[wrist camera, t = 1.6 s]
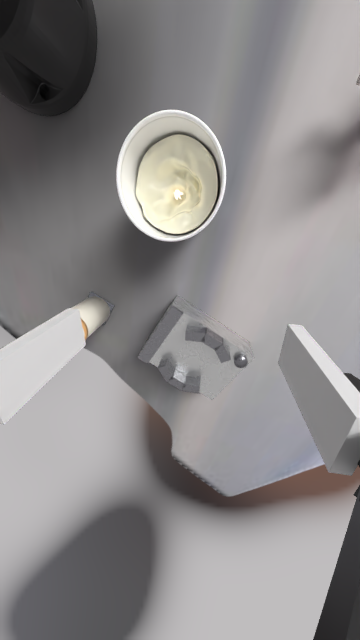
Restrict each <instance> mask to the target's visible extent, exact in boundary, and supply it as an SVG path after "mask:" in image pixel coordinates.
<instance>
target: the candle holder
mask: <svg viewBox="0 0 360 640" xmlns="http://www.w3.org/2000/svg"><path fill="white" fill-rule="evenodd" d="M116 182H117V190H118V195H119V198H120V201H121V204H122V206H123V209H124V211H125V213H126V214H127V216H128V217H129V219H130V220H131V222H132V223H133V224H134V225H135V226H136V227H137V228H138V229H139V230H140V231H142V232H143V233H144V234H146V235H148V236H150V237H152V238H154V239H157V240H160V241H166V242H176V241H182V240H185V239H188V238H191V237H193V236H195V235H196V234H198V233H199V232H201V231H202V230H203V229H204V228H205V227H206V226H207V225H208V224H209V223H210V222H211V221H212V219H213V218H214V216H215V215H216V213H217V211H218V209H219V207H220V205H221V202H222V199H223V196H224V192H225V185H226V166H225V160H224V156H223V152H222V149H221V147H220V144H219V142H218V140H217V138H216V137H215V135H214V134H213V132H212V131H211V130H210V128H209V127H208V126H207V125H206V124H205V123H204V122H202V121H201V120H200V119H198V118H197V117H195V116H194V115H192V114H189V113H187V112H184V111H179V110H163V111H159V112H156V113H153V114H151V115H149V116H147V117H145V118H144V119H143V120H141V121H140V122H139V123H138V124H137V125H136V126H135V127H134V128H133V129H132V130H131V132H130V133H129V134H128V136H127V137H126V139H125V141H124V143H123V145H122V148H121V150H120V153H119V157H118V162H117V169H116Z"/></svg>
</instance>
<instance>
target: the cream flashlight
mask: <svg viewBox="0 0 360 640" xmlns="http://www.w3.org/2000/svg"><path fill="white" fill-rule="evenodd" d="M113 308H114V305H113V304H111V303H110V302H108V301H106V300H105V299H103V298H102V297H100V296H98V295H97V294H95V293H94V292H90V294H89V296H88V298H87V299H85V300H84V301H82V302H80V303H79V304H77V305H75V306H74V307H72V308H70V309H79V312H80V317H81V322H82V328H83V333H84V338H85V340H86V339H87V338H88V337H89V336H90V335H91V334H92V333H93V332H94V331H95V330H96V329H98V328H99V327H100V326H101V325H103V326H104V325H105V323H106V321H107V319H108V318H109V316H110V314H111V312H112V310H113Z"/></svg>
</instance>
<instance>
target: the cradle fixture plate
mask: <svg viewBox="0 0 360 640" xmlns="http://www.w3.org/2000/svg"><path fill="white" fill-rule="evenodd" d="M137 358H138V359H140V360H142V361H143V362H145V363H147V364H148V363H149V362H150V363H151V364H153V365H155V366H156V367H158V370H159V371H160V373H161V374H162V376H163V377H164V379H165V381H167V383H169V384H171V385H172V386H174V387H176V388H177V389H179V390H181V391H185V392H193V393H201V394H203V395H204V396H206V397H208V398H209V399H211V400H213V399H214V398H215V397H216V396H217V395H218V394H219V393H220V392H221V391H222V390H223V389H224V388H225V387H226V386H227V385H228V384H229V383H230V382H231V381H232V380H233V379H234V378H235V377H236V376H237V375H238V374H239V373H240V372H241V371H242V370H243V369H244V368H245V367H246V366H247V365H248V364H249V363H250V362H251V361H252V360H253V359H254V355H253V351H252V348H251V345H250V342H249V341H248V340H246V339H244V338H243V337H241V336H240V335H238V334H237V333H235V332H234V331H232V330H231V329H229V328H228V327H226V326H225V325H223V324H222V323H220V322H218V321H217V320H215V319H214V318H212V317H211V316H209V315H208V314H206V313H205V312H203V311H202V310H200V309H199V308H197V307H196V306H194V305H192V304H191V303H189V302H188V301H186V300H185V299H183V298H182V297H180V296H179V295H177V296H176V297H175V299H174V300H173V302H172V303H171V305H170V306H169V308H168V309H167V311H166V312H165V314H164V315H163V317H162V318H161V320H160V321H159V323H158V324H157V326H156V327H155V329H154V330H153V332H152V334H151V335H150V337H149V338H148V340H147V341H146V343H145V345H144V346H143V348H142V350H141V352H140V353H139V355H138V357H137Z"/></svg>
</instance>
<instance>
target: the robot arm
mask: <svg viewBox="0 0 360 640" xmlns="http://www.w3.org/2000/svg"><path fill="white" fill-rule="evenodd" d="M96 50H97V27H96V18H95V11H94V6H93V2H92V0H0V92H1V93H2V94H3V95H4V96H6V97H7V98H8V99H10V100H11V101H13V102H15V103H16V104H18V105H19V106H21V107H23V108H24V109H26V110H28V111H30V112H32V113H35V114H39V115H45V116H51V115H57V114H61V113H63V112H65V111H67V110H68V109H70V108H71V107H73V106H74V105H75V104H76V103H77V102H78V101H79V99H80V98H81V97H82V95H83V94H84V92H85V90H86V88H87V86H88V84H89V82H90V79H91V76H92V73H93V69H94V65H95V59H96ZM85 345H86V343H85V338H84V333H83V328H82V322H81V317H80V312H79V309H70V308H68V309H66V310H64V311H63V312H61V313H59V314H58V315H56V316H54V317H53V318H51V319H49V320H48V321H46V322H44V323H43V324H41V325H39V326H38V327H36V328H34V329H33V330H31V331H29V332H28V333H26V334H24V335H23V336H21V337H19V338H18V339H16V340H15V341H13V342H12V343H10V344H8V345H6V346H5V347H2V348H1V349H0V424H3V425H4V424H5V423H6V422H7V421H8V420H9V419H10V418H11V417H13V415H15V413H17V412H18V411H19V410H20V409H21V408H22V407H23V406H24V405H25V404H26V403H27V402H28V401H29V400H30V399H31V398H32V397H33V396H34V395H35V394H36V393H37V392H38V391H39V390H40V389H41V388H42V387H43V386H44V385H45V384H46V383H47V382H48V381H49V380H50V379H51V378H53V376H55V375H56V374H57V373H58V372H59V371H60V370H61V369H62V368H63V367H64V366H65V365H66V364H67V363H68V362H69V361H70V360H71V359H72V358H73V357H74V356H75V355H76V354H77V353H78V352H79V351H80V350H81V349H82V348H83V347H84V346H85ZM278 364H279V366H280V368H281V370H282V372H283V375H284V377H285V379H286V381H287V383H288V385H289V388H290V390H291V392H292V394H293V396H294V398H295V400H296V403H297V405H298V407H299V409H300V411H301V413H302V416H303V418H304V420H305V422H306V424H307V426H308V429H309V431H310V433H311V435H312V437H313V439H314V441H315V444H316V446H317V448H318V450H319V452H320V454H321V457H322V459H323V461H324V463H325V465H326V467H327V470H328V472H331V473H338V474H345V475H352V474H353V472H354V471H355V469H356V467H357V466H358V465H359V467H360V380H359V379H358V378H356V377H355V376H353V375H352V374H349V373H343V372H342V371H341V370H340V369H339V368H338V367H337V366H336V364H335V363H334V362H333V361H332V360H331V359H330V357H329V356H328V355H327V354H326V353H325V352H324V350H323V349H322V348H321V347H320V346H319V345H318V343H317V342H316V341H315V340H314V339H313V338H312V336H311V335H310V334H309V333H308V332H307V331H306V330H305V328H304V327H303V326H302V325H293V324H288V326H287V330H286V334H285V337H284V341H283V345H282V349H281V353H280V357H279V361H278ZM354 496H356V497H357V499H356V502H355V505H354V509H353V512H352V515H351V519H350V522H349V525H348V528H347V532H346V535H345V538H344V541H343V545H342V548H341V551H340V554H339V558H338V561H337V564H336V568H335V571H334V574H333V577H332V580H331V584H330V587H329V590H328V593H327V597H326V600H325V603H324V607H323V610H322V613H321V616H320V619H319V623H318V626H317V629H316V632H315V636H314V639H313V640H360V486H359V487H358V489H357V490H356V492H355V494H354Z"/></svg>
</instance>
